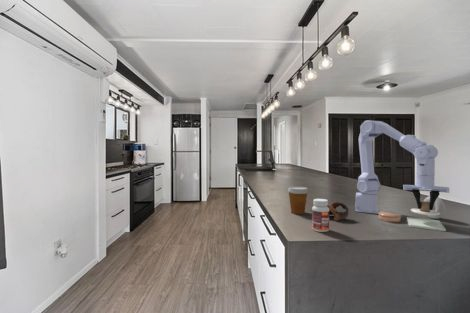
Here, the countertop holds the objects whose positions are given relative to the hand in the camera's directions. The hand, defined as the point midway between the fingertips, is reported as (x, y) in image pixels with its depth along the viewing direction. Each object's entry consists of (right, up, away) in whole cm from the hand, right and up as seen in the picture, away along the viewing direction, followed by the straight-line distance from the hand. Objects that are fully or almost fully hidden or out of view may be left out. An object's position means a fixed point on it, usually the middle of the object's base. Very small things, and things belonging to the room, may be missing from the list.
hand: (424, 209), depth 99 cm
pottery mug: (-33, -6, +10) cm, 35 cm away
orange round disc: (-10, -6, +7) cm, 14 cm away
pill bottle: (-44, -7, -6) cm, 45 cm away
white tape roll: (+11, -6, +9) cm, 15 cm away
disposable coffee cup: (-46, -6, +20) cm, 50 cm away
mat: (0, -6, 0) cm, 6 cm away
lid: (0, -1, 0) cm, 1 cm away
